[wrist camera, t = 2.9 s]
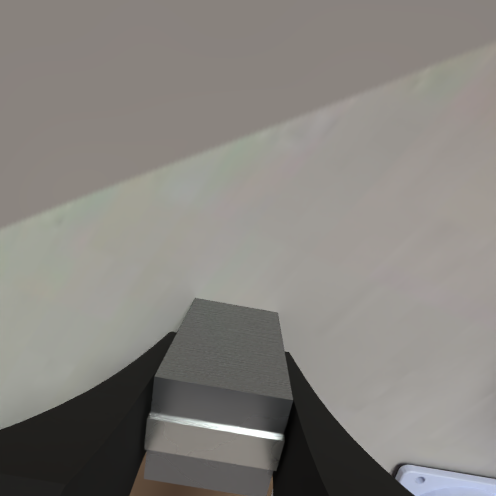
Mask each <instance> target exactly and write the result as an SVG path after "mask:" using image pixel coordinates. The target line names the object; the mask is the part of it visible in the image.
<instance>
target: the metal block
mask: <svg viewBox="0 0 496 496" xmlns="http://www.w3.org/2000/svg"><path fill="white" fill-rule="evenodd" d="M292 403H293V396H292V391H291V385H290V379H289V374H288V368H287V362H286V357H285V351H284V345H283V340H282V334H281V328H280V323H279V317H278V313H276V312H270V311H265V310H259V309H253V308H248V307H242V306H237V305H231V304H225V303H220V302H214V301H208V300H203V299H197V298H195V299H194V301H193V303H192V305H191V307H190V309H189V311H188V313H187V315H186V317H185V319H184V321H183V322H182V324H181V326H180V328H179V330H178V332H177V334H176V336H175V338H174V340H173V342H172V344H171V345H170V347H169V349H168V351H167V353H166V355H165V357H164V359H163V361H162V363H161V365H160V367H159V368H158V370H157V372H156V374H155V376H154V384H153V394H152V404H151V411H150V413H149V415H148V418H147V425H146V435H145V445H144V449H147V452H146V462H145V471H144V479H148V480H154V481H160V482H166V483H172V484H179V485H185V486H191V487H197V488H203V489H209V490H215V491H221V492H228V493H234V494H240V495H246V496H267V492H268V489H269V485H270V481H271V478H272V474H273V471H276V470H277V467H278V463H279V460H280V456H281V453H282V449H283V446H284V442H285V439H284V431H285V428H286V424H287V421H288V417H289V413H290V410H291V406H292Z"/></svg>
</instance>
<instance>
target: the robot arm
mask: <svg viewBox="0 0 496 496" xmlns="http://www.w3.org/2000/svg"><path fill="white" fill-rule="evenodd" d="M176 334H177V333H176V332H170V333H168V334H167V335H166V336H165V337H164V338H163V339H161V340H160V341H159V342H158V343H157V344H155V345H154V346H153V347H152V348H151V349H149V350H148V351H147V352H145V353H144V354H143V355H142V356H140V357H139V358H138V359H136V360H135V361H134V362H132V363H131V364H129V365H128V366H127V367H125V368H124V369H122V370H121V371H119V372H118V373H117V374H115V375H113V376H112V377H110V378H109V379H107V380H106V381H104V382H102V383H101V384H99V385H97V386H96V387H94V388H92V389H90V390H89V391H87V392H85V393H83V394H81V395H79V396H77V397H75V398H73V399H71V400H69V401H67V402H65V403H63V404H61V405H59V406H57V407H55V408H52V409H50V410H48V411H46V412H44V413H41V414H39V415H37V416H34V417H32V418H29V419H27V420H25V421H22V422H20V423H17V424H15V425H12V426H10V427H7V428H4V429H1V430H0V496H129V495H130V493H131V490H132V487H133V484H134V482H135V479H136V476H137V474H138V471H139V468H140V465H141V463H142V461H143V458H144V456H145V453H146V451H147V449H144V445H145V435H146V425H147V418H148V415H149V413H150V411H151V404H152V394H153V384H154V376H155V374H156V372H157V370H158V368H159V367H160V365H161V363H162V361H163V359H164V357H165V355H166V353H167V351H168V349H169V347H170V345H171V344H172V342H173V340H174V338H175V336H176ZM285 357H286V362H287V368H288V374H289V379H290V385H291V391H292V396H293V403H292V406H291V410H290V413H289V417H288V421H287V424H286V428H285V431H284V439H285V442H284V446H283V449H282V453H281V456H280V460H279V463H278V467H277V470H276V471H273V474H272V477H273V496H496V479H492V478H486V477H480V476H474V475H468V474H462V473H456V472H450V471H444V470H439V469H433V468H427V467H421V466H415V465H403V466H402V467H400V469H399V471H398V473H397V475H396V477H395V478H394V477H393V476H391V475H390V474H389V473H388V472H387V471H386V470H385V469H384V468H382V467H381V466H380V465H379V464H378V463H377V462H376V461H375V460H374V459H373V458H372V457H371V456H370V455H369V454H368V453H367V452H366V451H365V450H364V449H363V448H362V447H361V446H360V445H359V444H358V443H357V442H356V441H355V440H354V439H353V438H352V437H351V436H350V435H349V434H348V433H347V432H346V430H345V429H344V428H343V427H342V426H341V425H340V424H339V422H338V421H337V420H336V419H335V418H334V417H333V415H332V414H331V413H330V412H329V411H328V409H327V408H326V407H325V405H324V404H323V403H322V401H321V400H320V399H319V397H318V396H317V395H316V393H315V392H314V390H313V389H312V387H311V386H310V384H309V383H308V382H307V380H306V379H305V377H304V375H303V374H302V372H301V371H300V369H299V367H298V366H297V364H296V363H295V361H294V359H293V358H292V356H291V355H290V353H289V352H285Z"/></svg>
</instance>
